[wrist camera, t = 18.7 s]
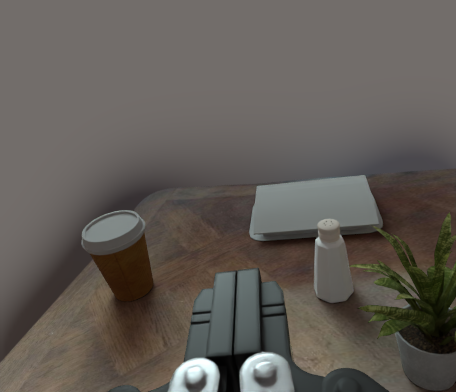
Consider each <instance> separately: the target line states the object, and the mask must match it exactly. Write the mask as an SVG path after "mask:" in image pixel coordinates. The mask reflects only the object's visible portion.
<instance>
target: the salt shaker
mask: <svg viewBox="0 0 456 392" xmlns="http://www.w3.org/2000/svg"><path fill="white" fill-rule="evenodd" d="M317 228H318V233H319V237H318V238H317V239H316V240H315V265H314V289H315V292H316V295H317V297H318V298H320V299H322V300H324V301H327V302H329V303H336V302H342V301H346V300H347V299H348V298H349V297H350V295H351V294H352V293H353V292H354V289H353V284H352V278H351V273H350V268H349V262H348V257H347V252H346V246H345V242H344V240H343V238H342V236H341V235H340V229H339V228H340V223H339V222H338V221H337V220H334V219H324V220H321V221H320V222H319V223H318V224H317Z"/></svg>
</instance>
